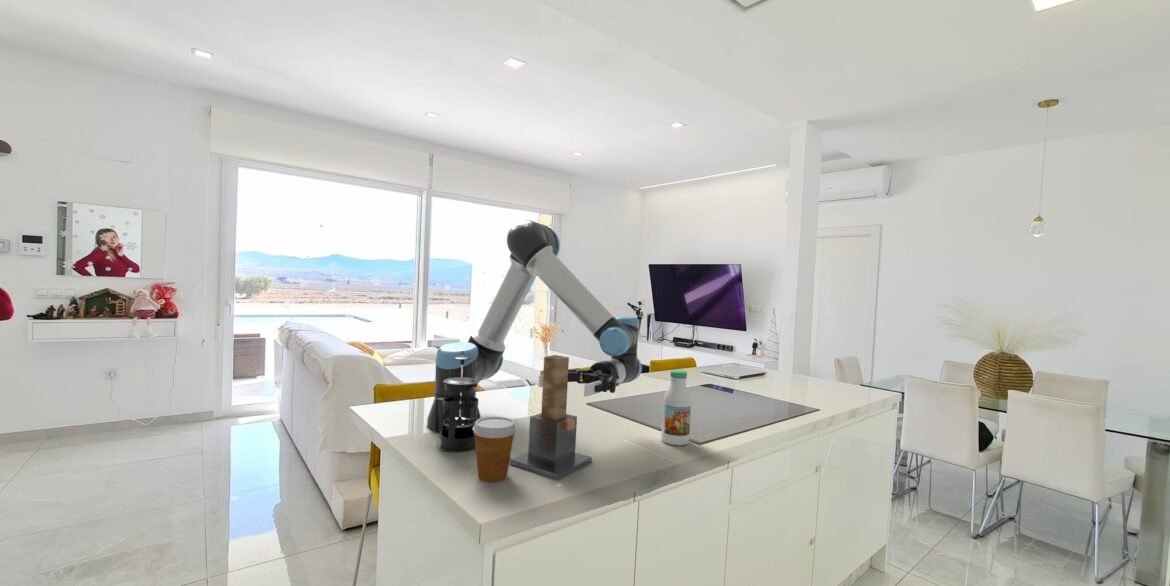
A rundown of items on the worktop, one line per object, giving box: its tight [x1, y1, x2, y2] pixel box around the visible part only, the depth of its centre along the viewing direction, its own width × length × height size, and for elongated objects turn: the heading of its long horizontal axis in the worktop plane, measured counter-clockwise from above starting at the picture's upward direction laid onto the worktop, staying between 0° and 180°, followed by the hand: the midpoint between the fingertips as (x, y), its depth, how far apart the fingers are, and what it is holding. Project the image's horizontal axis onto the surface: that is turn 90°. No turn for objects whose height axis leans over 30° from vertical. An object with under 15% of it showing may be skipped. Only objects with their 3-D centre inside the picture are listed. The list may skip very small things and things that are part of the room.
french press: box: [434, 356, 480, 453], centre depth 125 cm, size 12×9×23 cm
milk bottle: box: [660, 369, 692, 446], centre depth 137 cm, size 8×8×20 cm
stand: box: [509, 412, 593, 481], centre depth 117 cm, size 14×14×11 cm
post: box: [541, 354, 570, 421], centre depth 117 cm, size 4×4×24 cm
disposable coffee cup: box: [473, 416, 517, 483], centre depth 107 cm, size 10×10×12 cm
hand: (561, 385), depth 118 cm, fingers open, 13 cm apart
